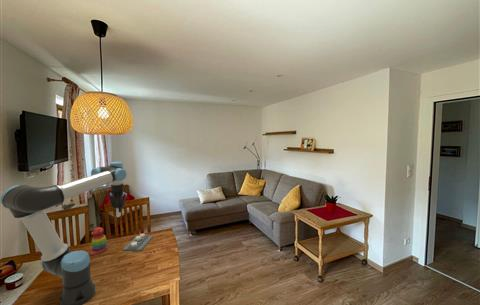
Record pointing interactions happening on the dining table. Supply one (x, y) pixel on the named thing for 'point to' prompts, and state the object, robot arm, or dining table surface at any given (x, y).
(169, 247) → the dining table surface
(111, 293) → the dining table surface
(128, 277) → the dining table surface
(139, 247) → the board
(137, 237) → the button two
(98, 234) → the stacking bear
